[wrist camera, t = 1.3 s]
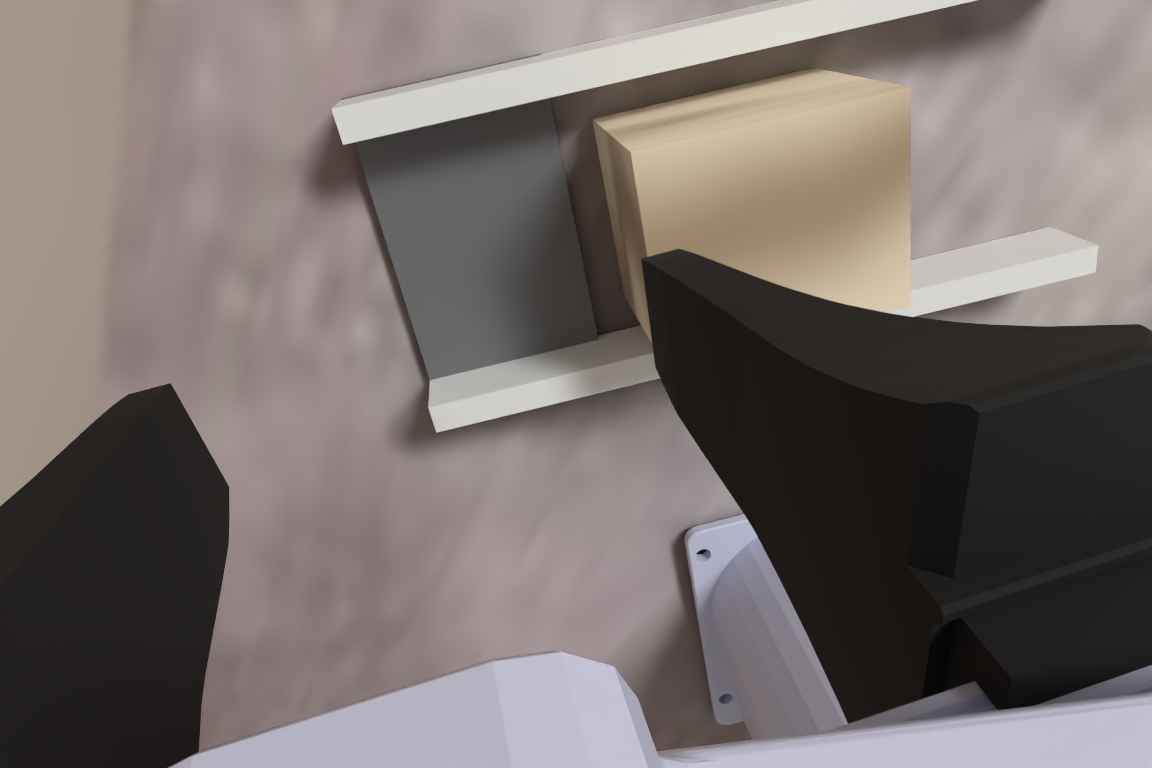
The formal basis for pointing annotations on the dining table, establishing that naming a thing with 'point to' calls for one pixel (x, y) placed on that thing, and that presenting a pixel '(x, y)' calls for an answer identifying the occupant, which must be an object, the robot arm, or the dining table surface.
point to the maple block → (769, 185)
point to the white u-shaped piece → (546, 222)
